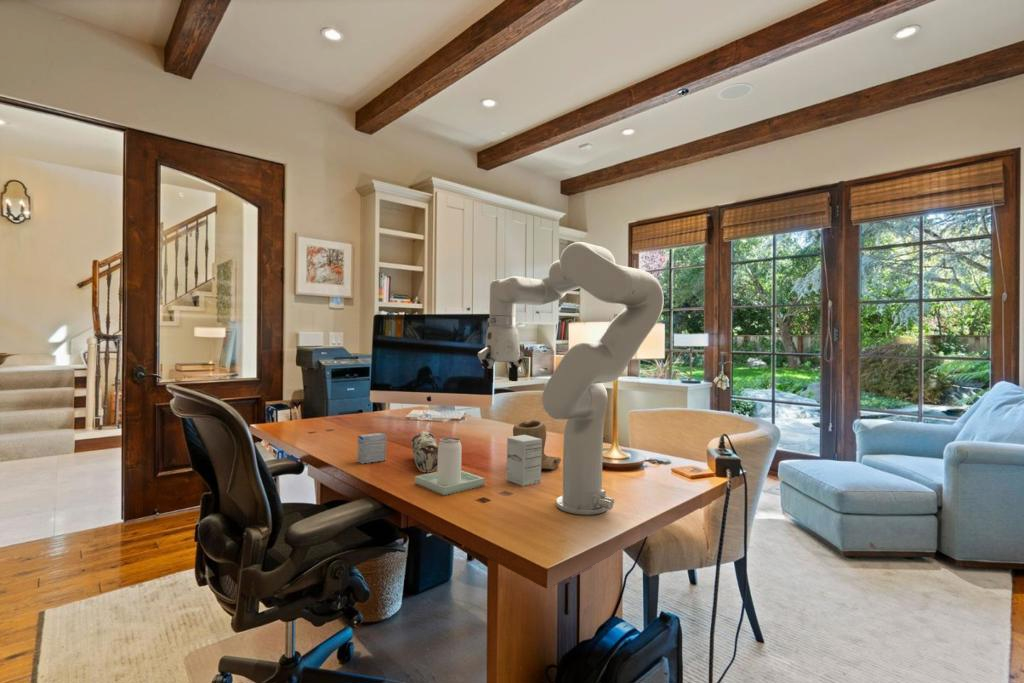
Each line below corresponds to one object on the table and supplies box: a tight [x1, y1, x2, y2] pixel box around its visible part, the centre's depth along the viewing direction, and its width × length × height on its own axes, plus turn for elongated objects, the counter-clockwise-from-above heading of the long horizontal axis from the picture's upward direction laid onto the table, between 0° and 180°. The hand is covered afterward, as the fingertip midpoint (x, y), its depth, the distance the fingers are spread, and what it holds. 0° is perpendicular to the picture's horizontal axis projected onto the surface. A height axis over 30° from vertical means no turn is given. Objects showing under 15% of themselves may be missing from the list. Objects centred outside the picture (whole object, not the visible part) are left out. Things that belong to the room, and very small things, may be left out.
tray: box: [414, 469, 486, 497], centre depth 134 cm, size 14×14×2 cm
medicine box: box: [357, 432, 387, 465], centre depth 158 cm, size 8×4×9 cm, turn 130°
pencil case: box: [410, 430, 438, 474], centre depth 156 cm, size 22×8×10 cm, turn 14°
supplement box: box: [505, 435, 542, 487], centre depth 139 cm, size 7×7×13 cm
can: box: [436, 437, 463, 486], centre depth 134 cm, size 6×6×12 cm
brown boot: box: [512, 419, 562, 470], centre depth 154 cm, size 15×12×15 cm
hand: (501, 381), depth 141 cm, fingers open, 9 cm apart
